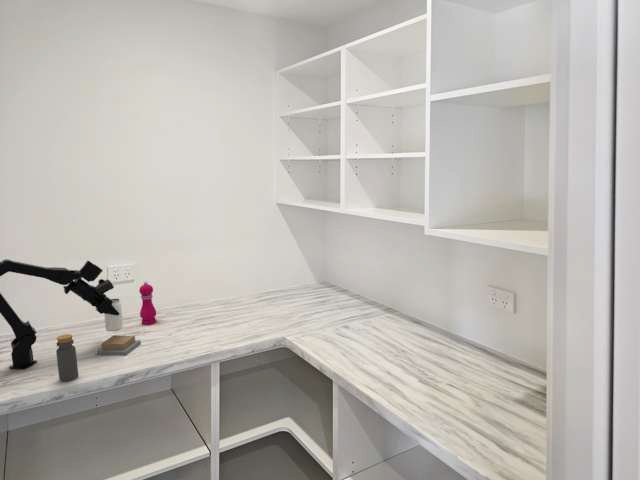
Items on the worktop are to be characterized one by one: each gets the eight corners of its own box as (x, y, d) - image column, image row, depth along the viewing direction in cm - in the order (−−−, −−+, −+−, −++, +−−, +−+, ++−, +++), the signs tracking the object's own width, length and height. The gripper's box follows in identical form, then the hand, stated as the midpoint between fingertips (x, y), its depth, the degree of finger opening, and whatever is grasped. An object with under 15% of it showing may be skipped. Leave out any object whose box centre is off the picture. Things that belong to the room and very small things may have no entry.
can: (112, 332, 185) (110, 303, 184) (102, 330, 189) (99, 301, 187) (126, 327, 191) (124, 299, 189) (116, 325, 194) (113, 297, 192)
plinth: (125, 355, 179) (125, 345, 178) (96, 354, 180) (95, 344, 180) (140, 343, 191) (139, 334, 190) (113, 343, 192) (112, 334, 191)
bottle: (81, 373, 163) (77, 333, 161) (73, 381, 158) (68, 339, 155) (64, 374, 163) (60, 333, 161) (56, 381, 157) (51, 339, 155)
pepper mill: (137, 324, 215) (133, 282, 212) (147, 319, 222) (144, 279, 219) (150, 325, 213) (147, 283, 210) (160, 320, 220) (157, 279, 217)
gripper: (104, 278, 177) (136, 301, 185) (94, 270, 191) (124, 292, 200) (83, 302, 173) (117, 324, 181) (74, 292, 188) (106, 313, 196)
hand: (116, 312), depth 190 cm, fingers closed on can, 6 cm apart
